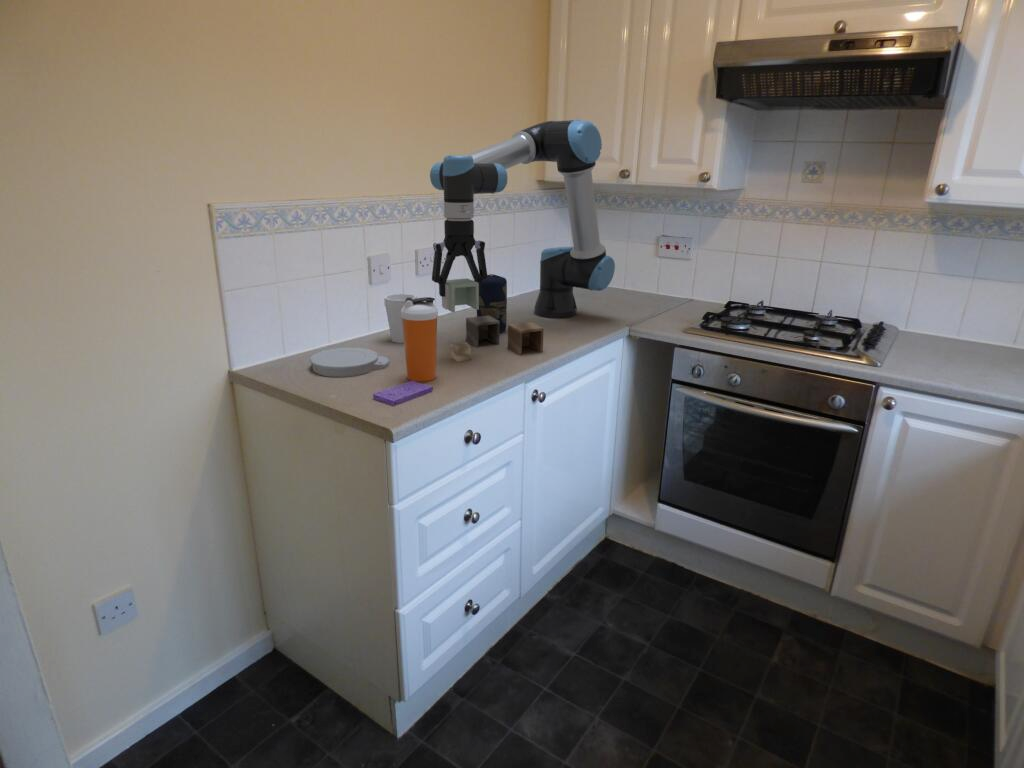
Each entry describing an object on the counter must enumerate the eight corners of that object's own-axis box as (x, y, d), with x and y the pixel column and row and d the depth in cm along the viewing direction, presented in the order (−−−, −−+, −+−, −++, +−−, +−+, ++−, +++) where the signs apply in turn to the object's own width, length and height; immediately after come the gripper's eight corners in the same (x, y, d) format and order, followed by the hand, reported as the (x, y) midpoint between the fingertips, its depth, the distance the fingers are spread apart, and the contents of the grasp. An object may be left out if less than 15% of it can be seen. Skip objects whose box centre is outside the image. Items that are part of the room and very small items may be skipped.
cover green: (467, 303, 178) (467, 278, 175) (478, 309, 171) (478, 283, 169) (442, 306, 174) (441, 280, 172) (452, 312, 168) (451, 285, 166)
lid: (392, 375, 164) (391, 363, 163) (310, 380, 159) (309, 369, 158) (386, 355, 180) (386, 345, 179) (311, 360, 175) (310, 349, 174)
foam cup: (408, 345, 188) (406, 301, 184) (380, 342, 191) (378, 298, 187) (423, 337, 196) (422, 295, 192) (396, 334, 199) (394, 292, 195)
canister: (502, 335, 200) (503, 277, 194) (473, 333, 202) (473, 276, 196) (509, 328, 209) (510, 272, 203) (480, 326, 211) (480, 271, 204)
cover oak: (488, 337, 197) (488, 315, 195) (499, 344, 191) (499, 321, 189) (466, 340, 194) (466, 317, 192) (476, 347, 188) (476, 323, 185)
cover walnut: (530, 345, 191) (531, 322, 188) (542, 351, 184) (543, 328, 182) (507, 347, 187) (507, 324, 185) (519, 354, 181) (519, 330, 179)
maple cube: (465, 356, 180) (464, 342, 178) (470, 360, 176) (470, 345, 175) (451, 357, 178) (451, 343, 177) (456, 361, 175) (456, 347, 173)
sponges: (372, 401, 147) (372, 393, 147) (412, 386, 157) (412, 379, 156) (394, 408, 143) (393, 400, 143) (433, 393, 153) (433, 385, 152)
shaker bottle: (442, 381, 159) (440, 301, 152) (406, 384, 157) (402, 303, 150) (436, 370, 167) (434, 294, 160) (401, 373, 165) (398, 295, 158)
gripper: (425, 222, 157) (428, 313, 165) (501, 219, 166) (500, 306, 174) (416, 219, 164) (419, 307, 172) (489, 216, 172) (489, 300, 180)
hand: (460, 306), depth 173 cm, fingers closed on cover green, 7 cm apart
